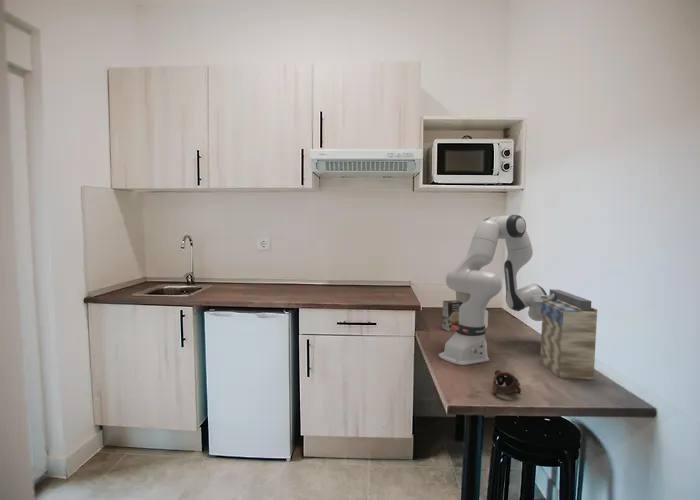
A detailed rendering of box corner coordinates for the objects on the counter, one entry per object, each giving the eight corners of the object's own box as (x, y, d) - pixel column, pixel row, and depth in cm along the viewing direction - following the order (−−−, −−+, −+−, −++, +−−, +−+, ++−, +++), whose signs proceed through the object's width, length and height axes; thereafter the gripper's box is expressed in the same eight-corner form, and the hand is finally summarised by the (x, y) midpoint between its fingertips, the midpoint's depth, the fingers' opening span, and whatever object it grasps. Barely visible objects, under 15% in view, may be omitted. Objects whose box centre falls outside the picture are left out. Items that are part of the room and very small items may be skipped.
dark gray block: (590, 311, 139) (591, 301, 139) (580, 311, 140) (580, 300, 139) (558, 298, 165) (558, 289, 165) (549, 298, 166) (549, 289, 165)
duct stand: (538, 360, 158) (541, 299, 156) (569, 362, 157) (572, 300, 155) (558, 377, 140) (561, 308, 138) (593, 379, 139) (597, 309, 137)
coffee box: (448, 331, 202) (448, 303, 201) (441, 328, 208) (442, 300, 207) (462, 330, 205) (462, 302, 204) (455, 327, 211) (456, 299, 210)
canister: (488, 317, 235) (489, 285, 234) (465, 319, 229) (466, 286, 227) (470, 311, 252) (471, 281, 251) (448, 313, 246) (449, 282, 244)
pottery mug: (529, 398, 124) (524, 381, 121) (505, 411, 123) (500, 394, 120) (506, 375, 135) (502, 359, 132) (485, 387, 134) (479, 371, 131)
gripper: (524, 298, 173) (535, 288, 161) (569, 299, 171) (583, 289, 159) (526, 311, 170) (537, 301, 158) (572, 312, 168) (587, 303, 156)
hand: (561, 295), depth 158 cm, fingers closed on dark gray block, 4 cm apart
